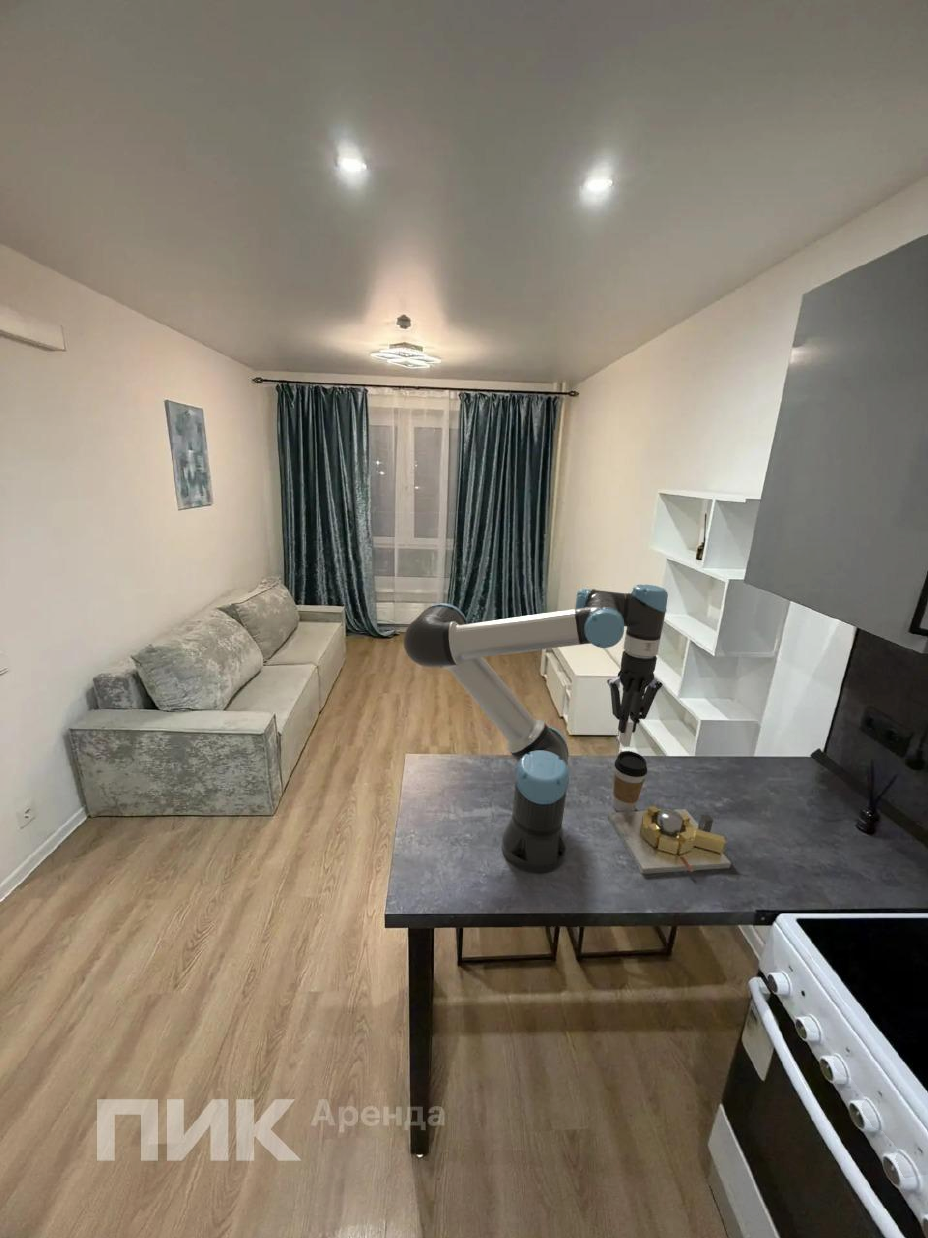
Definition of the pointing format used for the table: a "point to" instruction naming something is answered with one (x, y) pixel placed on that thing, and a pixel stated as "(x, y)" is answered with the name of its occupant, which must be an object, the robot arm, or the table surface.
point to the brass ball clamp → (686, 835)
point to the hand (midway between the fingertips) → (624, 743)
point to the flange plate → (658, 856)
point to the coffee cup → (628, 780)
